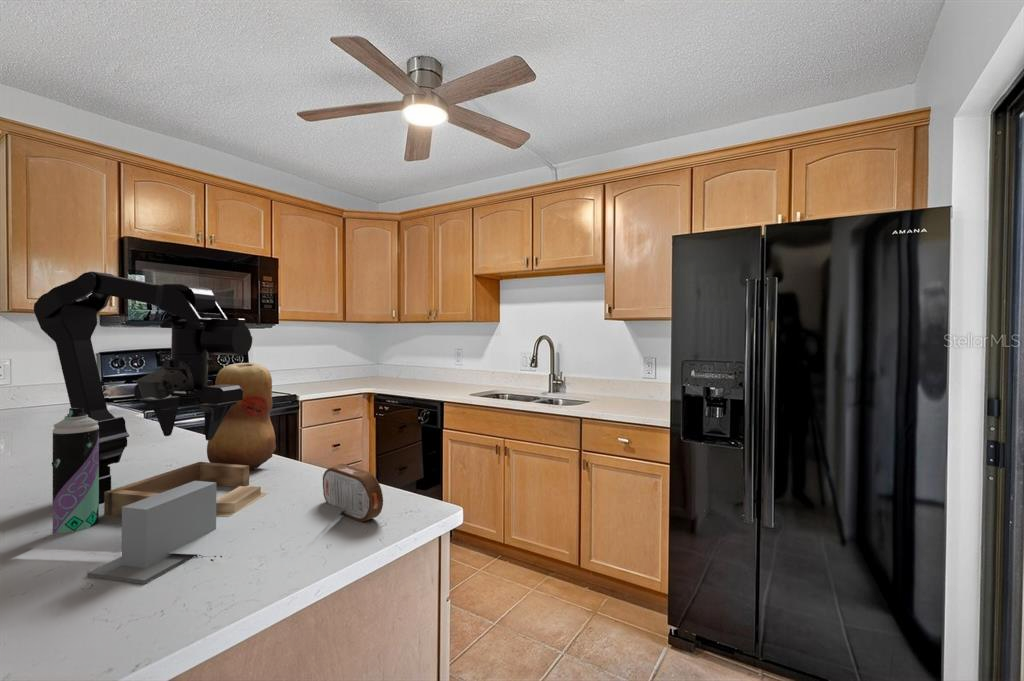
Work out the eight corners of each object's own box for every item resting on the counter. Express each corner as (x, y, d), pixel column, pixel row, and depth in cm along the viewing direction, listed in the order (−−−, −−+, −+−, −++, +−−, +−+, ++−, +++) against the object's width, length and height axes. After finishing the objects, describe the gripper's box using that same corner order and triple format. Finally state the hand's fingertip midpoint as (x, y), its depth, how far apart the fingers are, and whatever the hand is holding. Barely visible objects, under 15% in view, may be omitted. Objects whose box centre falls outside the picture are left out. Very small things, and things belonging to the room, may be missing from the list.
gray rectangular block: (121, 565, 66) (121, 507, 66) (194, 530, 78) (194, 480, 78) (146, 568, 65) (146, 509, 65) (216, 532, 77) (216, 482, 77)
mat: (87, 576, 64) (87, 572, 64) (194, 525, 81) (194, 522, 81) (144, 584, 62) (144, 580, 62) (241, 530, 79) (241, 527, 79)
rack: (104, 521, 82) (104, 492, 82) (199, 485, 101) (199, 461, 101) (163, 527, 80) (163, 497, 80) (249, 489, 99) (249, 465, 99)
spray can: (46, 542, 74) (46, 411, 73) (59, 529, 78) (59, 406, 78) (92, 535, 76) (93, 409, 76) (102, 523, 81) (103, 404, 81)
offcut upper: (211, 512, 84) (211, 502, 84) (239, 494, 93) (239, 486, 93) (234, 512, 84) (234, 503, 84) (260, 495, 93) (260, 486, 93)
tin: (384, 522, 84) (385, 474, 83) (369, 528, 81) (369, 478, 81) (334, 503, 93) (334, 459, 92) (319, 507, 90) (319, 462, 90)
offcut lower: (200, 525, 82) (200, 514, 82) (243, 500, 94) (243, 491, 94) (228, 526, 82) (228, 516, 82) (268, 501, 94) (268, 492, 94)
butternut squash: (221, 485, 102) (222, 366, 101) (197, 472, 110) (198, 362, 110) (286, 470, 112) (287, 363, 112) (260, 460, 121) (261, 360, 120)
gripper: (104, 352, 83) (102, 443, 83) (194, 358, 79) (192, 453, 79) (163, 350, 94) (162, 430, 94) (246, 355, 90) (243, 438, 90)
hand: (188, 437), depth 89 cm, fingers open, 9 cm apart
